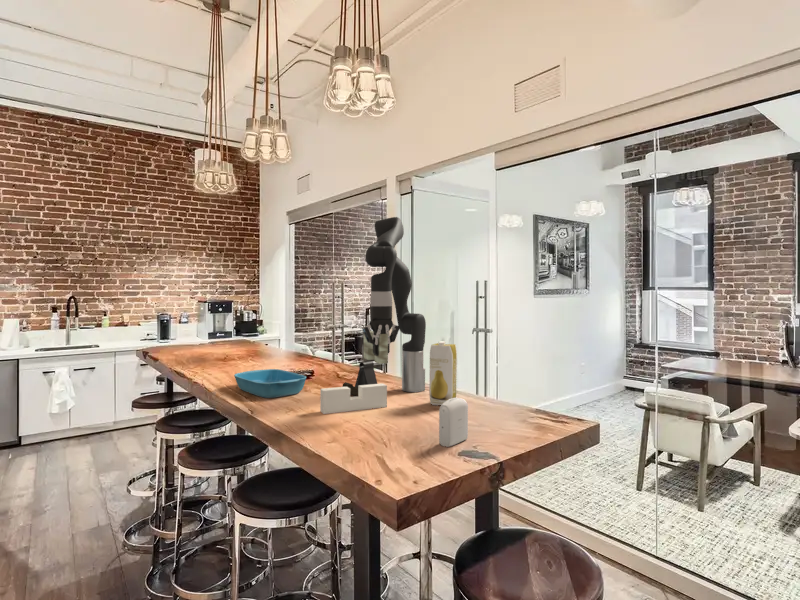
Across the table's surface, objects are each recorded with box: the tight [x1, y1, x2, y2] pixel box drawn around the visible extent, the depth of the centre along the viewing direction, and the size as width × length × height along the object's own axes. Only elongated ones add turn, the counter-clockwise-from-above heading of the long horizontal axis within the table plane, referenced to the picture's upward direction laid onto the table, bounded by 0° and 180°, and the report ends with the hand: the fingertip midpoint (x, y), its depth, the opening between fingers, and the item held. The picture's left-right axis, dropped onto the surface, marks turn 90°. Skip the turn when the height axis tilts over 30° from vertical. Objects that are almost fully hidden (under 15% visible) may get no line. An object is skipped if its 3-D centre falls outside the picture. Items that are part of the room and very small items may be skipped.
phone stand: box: [354, 360, 378, 388], centre depth 201 cm, size 9×6×12 cm, turn 48°
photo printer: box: [438, 397, 469, 448], centre depth 130 cm, size 10×4×12 cm, turn 139°
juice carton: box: [428, 340, 458, 406], centre depth 174 cm, size 9×8×24 cm
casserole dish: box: [233, 368, 307, 399], centre depth 195 cm, size 37×22×7 cm, turn 43°
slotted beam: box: [319, 382, 388, 415], centre depth 166 cm, size 24×4×8 cm, turn 116°
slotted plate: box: [363, 330, 389, 365], centre depth 162 cm, size 3×14×10 cm, turn 28°
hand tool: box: [341, 381, 358, 397], centre depth 187 cm, size 19×4×5 cm, turn 37°
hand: (381, 354), depth 157 cm, fingers closed on slotted plate, 3 cm apart
